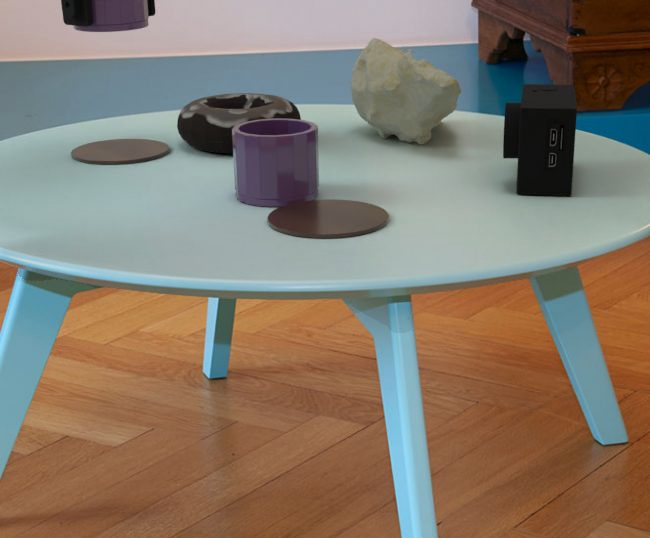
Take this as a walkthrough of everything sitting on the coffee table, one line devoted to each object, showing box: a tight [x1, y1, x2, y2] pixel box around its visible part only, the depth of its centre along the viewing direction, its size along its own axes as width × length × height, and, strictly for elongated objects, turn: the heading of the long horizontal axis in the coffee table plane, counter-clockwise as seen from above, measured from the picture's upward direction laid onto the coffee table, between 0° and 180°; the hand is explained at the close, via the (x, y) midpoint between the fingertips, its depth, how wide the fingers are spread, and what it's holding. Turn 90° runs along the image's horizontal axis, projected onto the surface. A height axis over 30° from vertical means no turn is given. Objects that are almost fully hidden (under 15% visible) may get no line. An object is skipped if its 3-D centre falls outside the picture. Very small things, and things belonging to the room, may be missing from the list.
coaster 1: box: [70, 138, 170, 165], centre depth 105 cm, size 9×9×1 cm
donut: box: [176, 92, 302, 154], centre depth 107 cm, size 12×12×4 cm
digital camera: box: [502, 83, 578, 197], centre depth 93 cm, size 10×5×7 cm, turn 170°
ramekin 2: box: [232, 119, 320, 208], centre depth 90 cm, size 7×7×6 cm
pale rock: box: [350, 37, 462, 145], centre depth 106 cm, size 18×10×7 cm
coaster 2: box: [267, 198, 390, 239], centre depth 84 cm, size 9×9×1 cm
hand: (110, 18), depth 101 cm, fingers closed on ramekin 1, 6 cm apart
